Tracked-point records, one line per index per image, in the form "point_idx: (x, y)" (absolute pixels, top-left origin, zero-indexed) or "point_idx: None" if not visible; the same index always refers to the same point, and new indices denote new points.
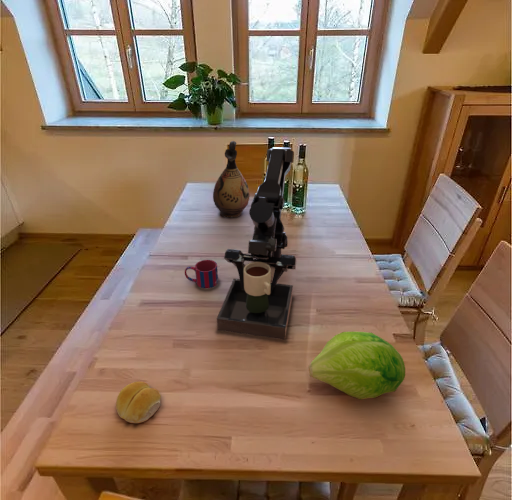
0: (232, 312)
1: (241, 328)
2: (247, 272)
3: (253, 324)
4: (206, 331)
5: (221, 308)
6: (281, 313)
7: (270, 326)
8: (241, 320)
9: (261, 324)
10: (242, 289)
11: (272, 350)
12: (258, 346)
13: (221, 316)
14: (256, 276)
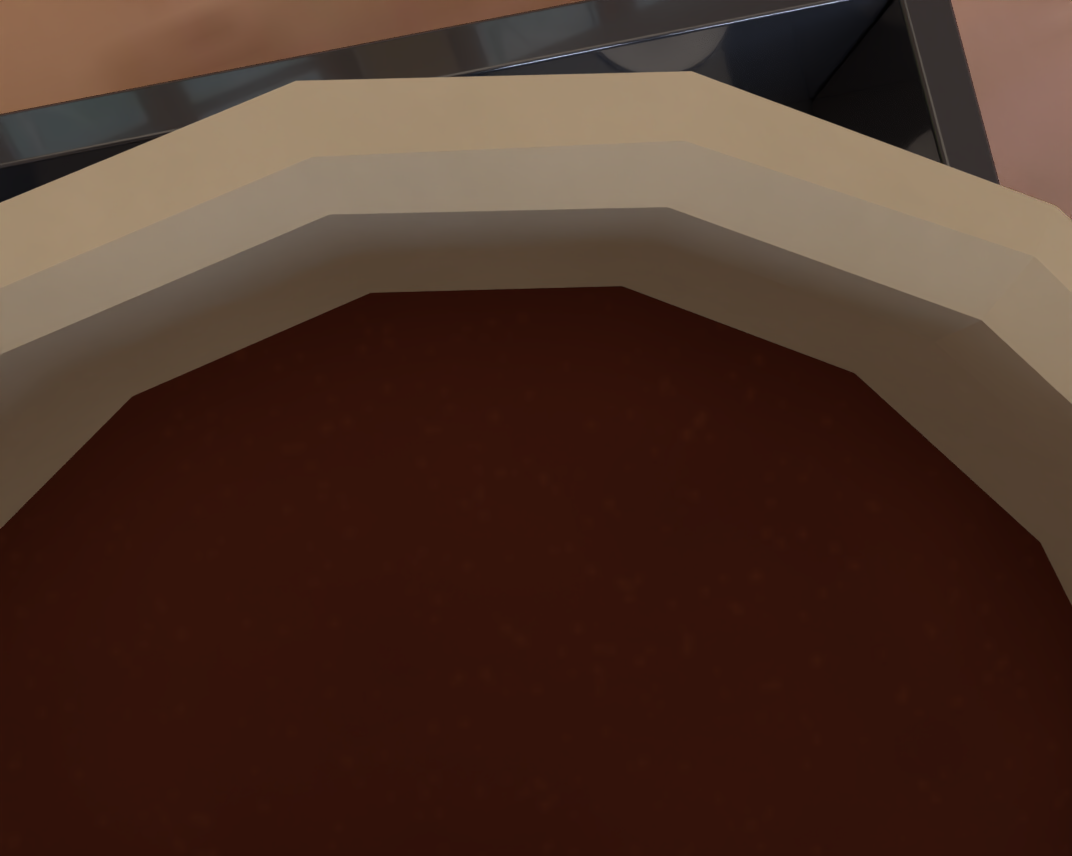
0: None
1: None
2: (1049, 775)
3: (318, 64)
4: (960, 35)
5: (991, 178)
6: None
7: (21, 115)
8: (534, 39)
9: (174, 81)
10: None
11: (47, 59)
12: (239, 54)
13: (894, 53)
14: (205, 210)
